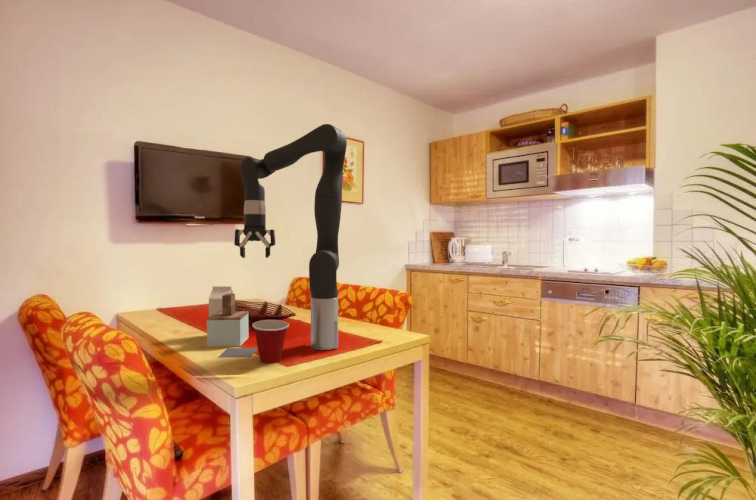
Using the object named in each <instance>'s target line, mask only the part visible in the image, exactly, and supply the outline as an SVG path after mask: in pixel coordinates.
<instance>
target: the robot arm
mask: <svg viewBox="0 0 756 500" xmlns="http://www.w3.org/2000/svg"><path fill="white" fill-rule="evenodd" d="M347 143H348V141H347V135H346V134H345V133H344V132H343V131H342V130H341V129H339V128H338V127H336V126H334V125H332V124H329V123H324V124H321V125H319V126H317V127H315V128H314V129H312V130H311V131H309V132H308V133H306V134H304V135H303V136H301V137H299V138H298V139H295V140H294V141H292V142H290V143H288V144H285V145H283V146H280V147H278V148H276V149H273V150H270V151H267V152H266V153H265V154H264V156H263V158H260V159H259V158H255V157H252V156H247V157H244V158H243V159H242V160H241V163H240V166H239V172H240V177H241V181H242V185H243V188H244V204H243V229H239V228H238V229H237V228H236V229H235V231H234V243H233V244H234V246H237V247H239V255H240V257H241V258H246V247H245V246H246V245H247V244H248V243H249V241H250V242H261V243H263V245H264V246H265V258H266V259H267V258H269V257H270V256H271V247H274V246H276V233H275V231H276V230H275V229H267V228H266V227H267V225H266V224H267V223H266V222H267V221H266V214H267V212H266V200H265V199H266V196H265V195H266V191H265V187H264V186H263V185H262V184H261V183H260V182H259V180H261V179H265V178H267V177H270V176H271V175H272V174H274V173H275V172H276V171H279V170H282V169H285V168H288V167H290V166H292V165H294V164H296V162H298V161H299V160H300V159H301V158H303V157H305V156H307V155H309V154H312V153H317V152H323V154H324V155H323V158H324V160H323V161H324V162H323V171H322V173H321V177H320V179H319V182H318V183H317V186H316V189H315V192H314V207H313V210H314V219H315V220H314V222H315V226H316V235H317V237H316V238H317V239H316V248H315V252H314V253H313V254H312V256H311V257H310V259H309V263H308V276H309V277H308V281H309V282H308V283H309V284H308V285H309V286H308V287H309V291H310V348H311V349H313V350H316V351H317V350H318V351H329V350H333V349H335V350H336V349H339V317H338V316H339V289H338V285H337V280H338V279H337V277H338V276H337V275H338V274H337V271H338V270H339V266H340V257H339V232H340V223H341V214H342V201H343V180H344V179H343V178H344V177H343V175H344V165H345V159H346V152H347ZM242 234H243V235H244V236H245V237H244V238H243V239H242V241H241V242H240V240H241V236H242ZM266 234H267V235H268V236H270V238H269V239H270V242H269V241H268V240H267V239H268V238H266V237H265V236H266Z"/></svg>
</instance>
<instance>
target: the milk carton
mask: <svg viewBox="0 0 756 500" xmlns="http://www.w3.org/2000/svg"><path fill="white" fill-rule="evenodd" d="M225 294H235V293H234V291H233V290H232V286H220V285H219V286H212V290H211V292H210V294H209V297H208V317H210V316H211V315H213V314H215V313H216V312H222V296H223V295H225Z"/></svg>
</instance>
